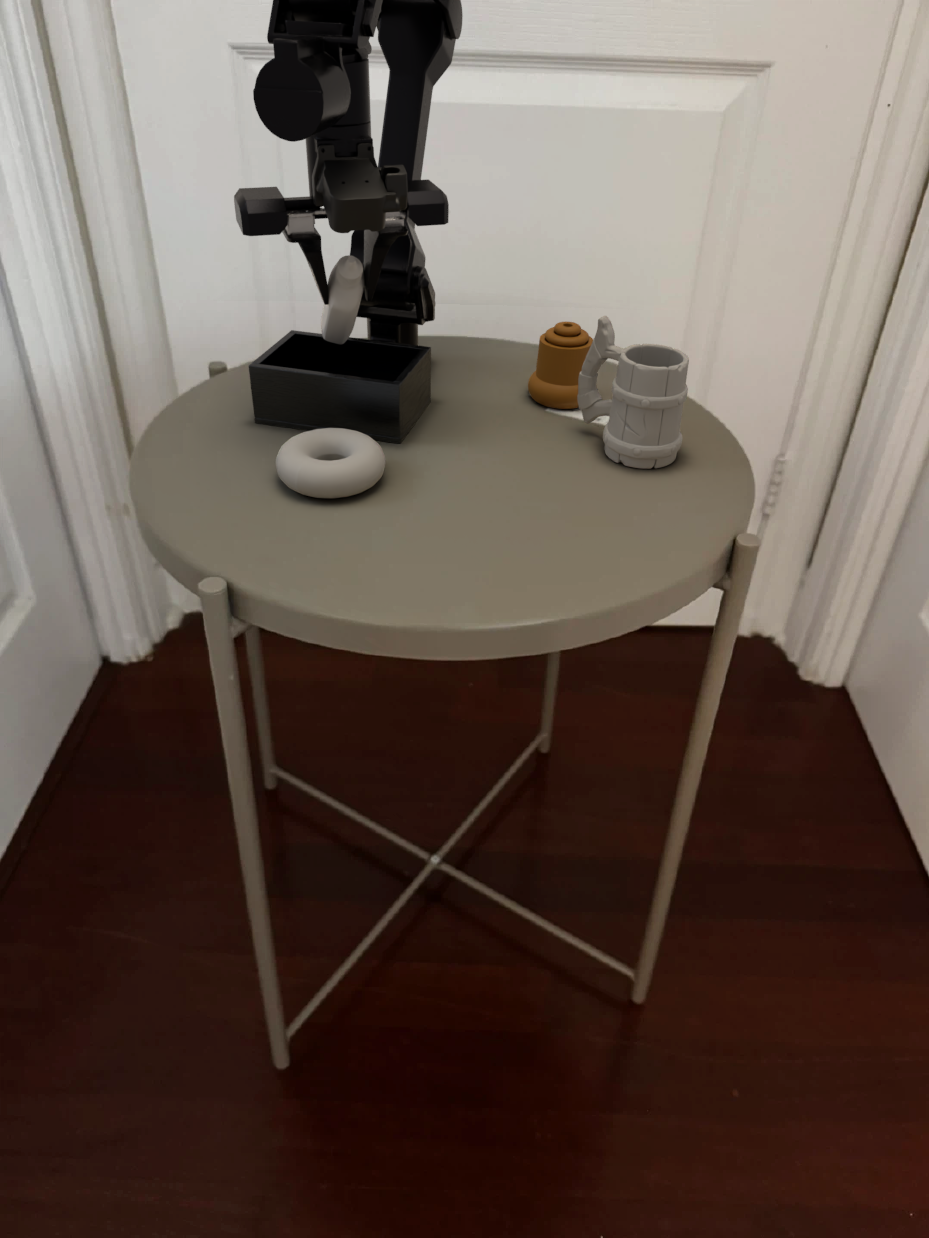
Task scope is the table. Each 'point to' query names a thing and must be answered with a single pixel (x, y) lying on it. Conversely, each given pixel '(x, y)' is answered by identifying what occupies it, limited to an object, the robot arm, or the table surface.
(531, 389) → the orange brown bell-shaped piece
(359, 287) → the eye dropper bottle
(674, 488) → the table surface
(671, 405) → the mug
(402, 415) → the black open box
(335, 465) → the donut
